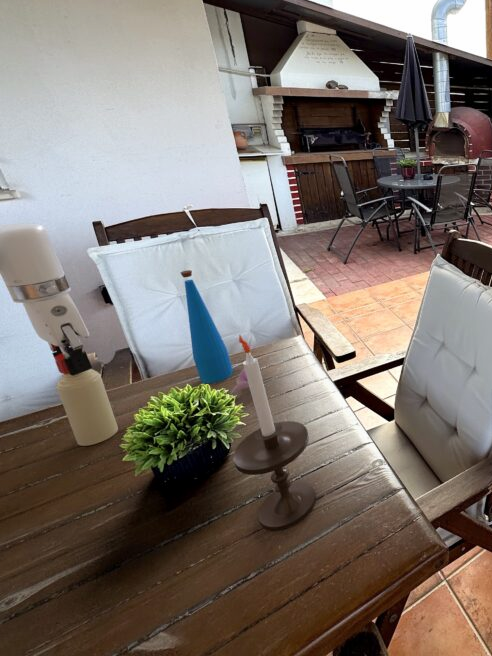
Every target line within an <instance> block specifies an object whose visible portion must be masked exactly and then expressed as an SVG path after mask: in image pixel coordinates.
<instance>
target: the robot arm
mask: <svg viewBox="0 0 492 656" xmlns="http://www.w3.org/2000/svg"><path fill="white" fill-rule="evenodd" d="M0 276H1V278H2V280H3V283H4V285H5V286H6V289H7V291H8V293H9V295H10V297H11V299H12V301H13V303H17V304H22V306H23V307H24V309H25V312H26V315H27V316H28V319H29V321H30V323H31V326H32V327H33V329H34V331H35V333H36V334H37V336H38V337H39V338H40V339H41V340H43V341H45V342H47V343H48V346H49V349H50V351H51V354H52V356H53V358H54V359H55V357H56V356H57V355H59V354H61V353H63V355H64V357H65V358H64V359H63V360H64V362H65V365H66V367H67V369H68V371H69V373H70V375H72V376H74V375H77V374H79V373H82V372H84V371H87V370H89V369H93V365H92V364H91V361H90V359H89V356H88V354H87V352H86V350H85V348H84V345H83V343H82V341H81V340H80V338H79V337H81V338H83V339H87V338H89V337H90V332H89V330H88V328H87V326H86V323H85V322H84V319H83V317H82V316H81V313H80V312H79V310H78V307H77V306H76V304H75V302H74V300H73V299H72V297H71V296H70V294H69V292H71V291H72V289H71V286H70V283H69V281H68V278H67V276H66V274H65V272H64V269H63V266H62V264H61V262H60V259H59V257H58V254H57V252H56V250H55V247H54V244H53V242H52V241H51V237H50V235H49V233H48V231H47V229H46V227H44V226H43V225H41V224H39V223H35V222H20V223H19V222H18V223H9V224H3V225H2V224H1V225H0Z"/></svg>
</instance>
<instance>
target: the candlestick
mask: <svg viewBox="0 0 492 656" xmlns="http://www.w3.org/2000/svg"><path fill="white" fill-rule="evenodd" d="M238 337H239V338H238V343H241V347H242V348H243V351H244V352H245V356H246V357H245V360H244V361H243V362H242V365H243V369H245V372H246V376H247V380H248V384H249V387H248V388H249V390H250V391H249V392H250V394H251V398H252V401H253V405H254V409H255V413H256V416H257V420H258V424H259V427H260V428H258V429H256V430H255V431H253V432H252V433H250V434H249V435H247V436H246V437H245V438H243V439H242V441H240V443H239V444H238V445H237V446H236V448H235V450H234V452H233V456H232V457H233V458H232V459H233V463H234V466H235V468H236V470H237V471H238V472H240V473H242V474H243V475H244V474H245V475H249V476H257V475H258V476H259V475H264V474H269V473H271V476H270V481H271V482H272V483H274V484H275V485H274V491H272V492H271V493H270V494H269V495H268V496H267V497H266V498H265V499H264V500H263V502H262V503H261V505H260V506H259V508H258V509H259V510H258V512H257V513H258V514H257V517H258V520H259V523H260V525H261V527H262V528H263V529H265V530H267V531H271V532H276V531H283V530H286V529H289V528H292V527H294V526H296V525H297V524H299V523H300V522H301V521H303V520H304V519H305V518H306V517H308V516H309V514H310V513H311V512H312V511H313V509H314V507H315V504H316V501H317V495H316V494H317V493H316V490H315V488H314V486H313V485H312V484H310V483H307V482H304V481H296V482H291V479H288V478H289V476H290V470H289V468H287V467H286V466H288V465H290V464H291V463H292V462H294V461H295V460H296V459H297V458H299V457H300V456H301V454H303V452H304V451H305V449H306V448H307V446H308V444H309V440H310V437H309V432H308V429H307V427H306V426H305V425H304V424H303V423H300V422H298V421H293V420H291V421H290V420H286V421H285V420H284V421H278V422H274V419H273V415H272V411H271V408H270V404H269V399H268V396H267V391H266V389H265V388H266V387H265V385H264V380H263V377H262V373H261V369H260V365H259V361H258V360H257V359H258V358H255V357H253V356H252V354H251V348H250V347H251V346H250V345H249V344H248V342H247V341H246V340H245V339H243V337H242V336H241V334H239V335H238Z"/></svg>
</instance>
